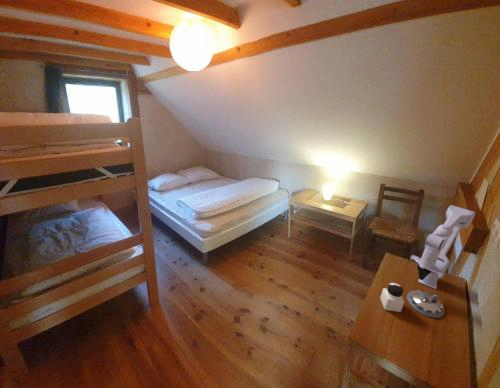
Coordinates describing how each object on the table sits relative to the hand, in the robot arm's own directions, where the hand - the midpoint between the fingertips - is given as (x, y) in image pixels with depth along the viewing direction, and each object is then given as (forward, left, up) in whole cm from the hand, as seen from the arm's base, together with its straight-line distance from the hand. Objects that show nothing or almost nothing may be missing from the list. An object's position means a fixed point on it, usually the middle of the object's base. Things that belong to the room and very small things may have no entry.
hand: (421, 278), depth 115 cm
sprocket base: (+6, +4, -9) cm, 12 cm away
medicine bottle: (+17, -9, -10) cm, 21 cm away
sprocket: (+6, +4, -8) cm, 11 cm away
